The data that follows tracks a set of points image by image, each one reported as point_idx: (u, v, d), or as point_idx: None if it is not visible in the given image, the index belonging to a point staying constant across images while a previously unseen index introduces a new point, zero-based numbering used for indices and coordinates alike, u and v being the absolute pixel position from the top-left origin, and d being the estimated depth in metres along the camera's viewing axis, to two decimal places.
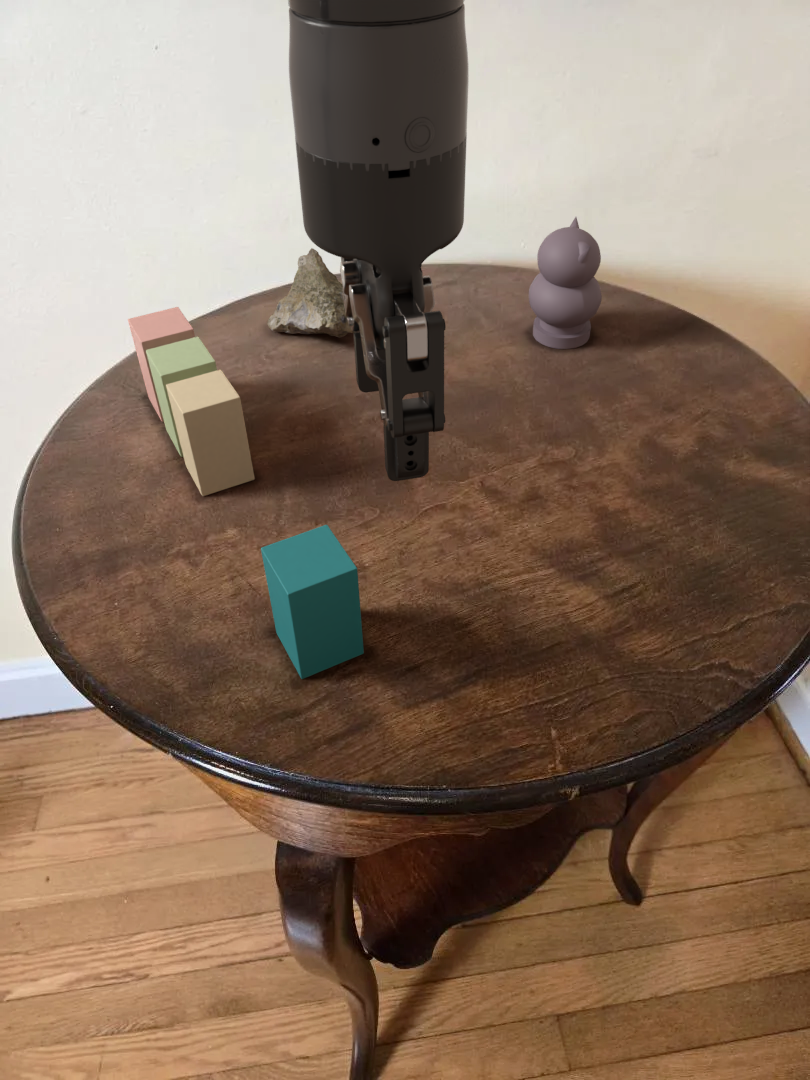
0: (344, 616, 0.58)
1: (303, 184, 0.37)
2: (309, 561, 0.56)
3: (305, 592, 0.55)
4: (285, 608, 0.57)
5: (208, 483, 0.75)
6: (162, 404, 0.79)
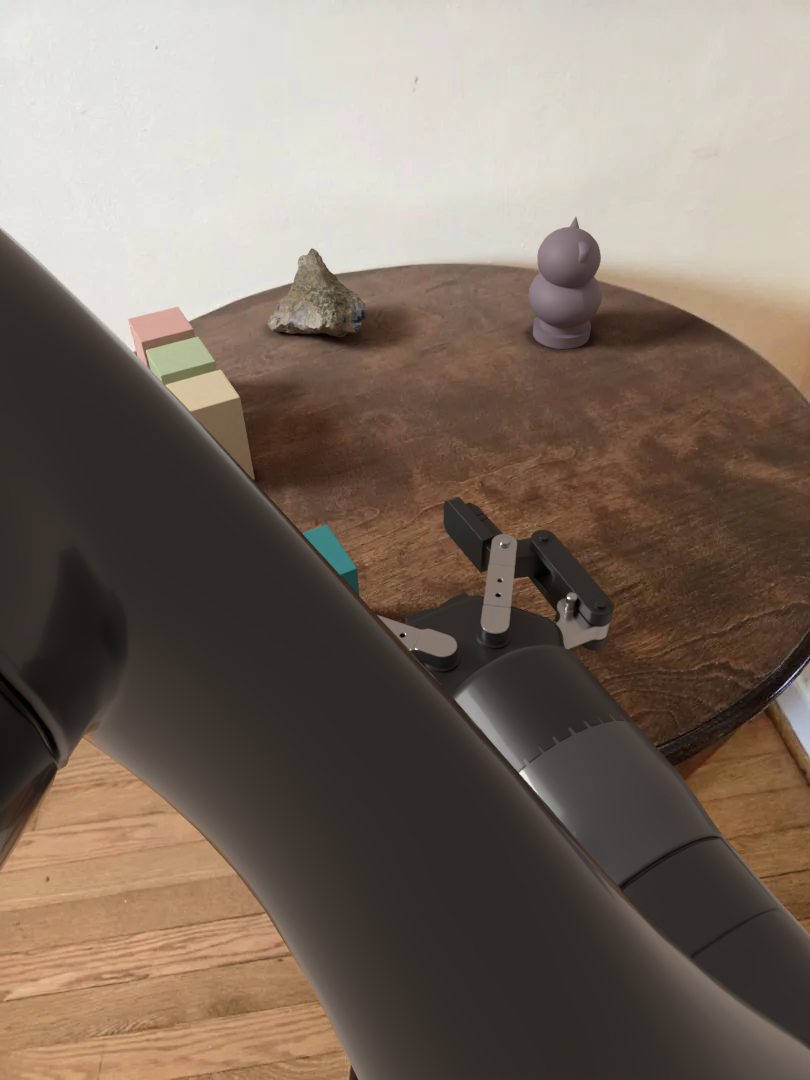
0: None
1: (529, 710, 0.30)
2: None
3: None
4: None
5: None
6: None
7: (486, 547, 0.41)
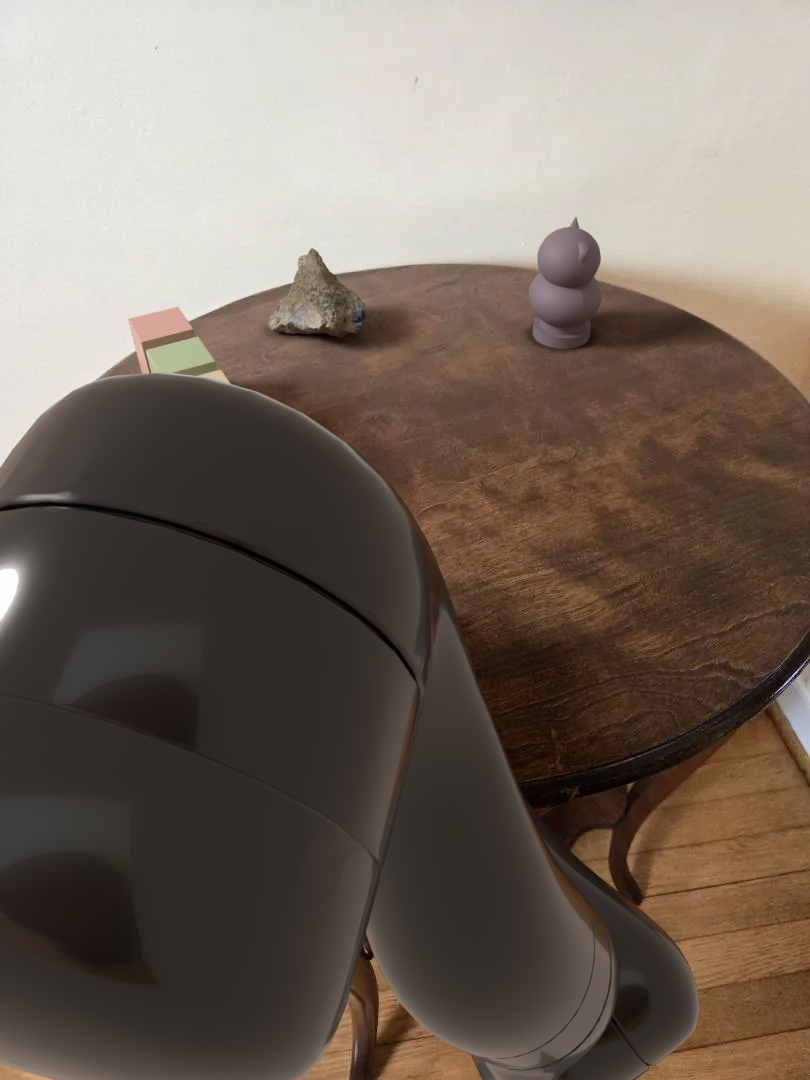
0: None
1: None
2: None
3: None
4: None
5: None
6: None
7: None
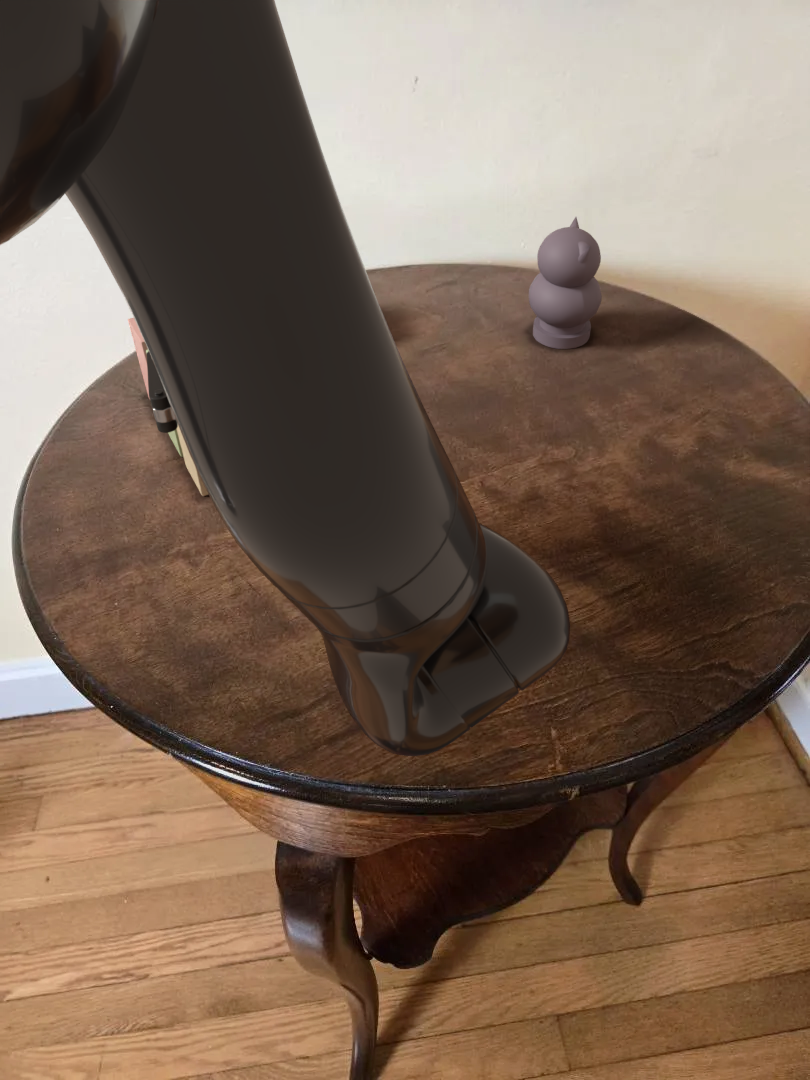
0: None
1: None
2: None
3: None
4: None
5: None
6: None
7: None
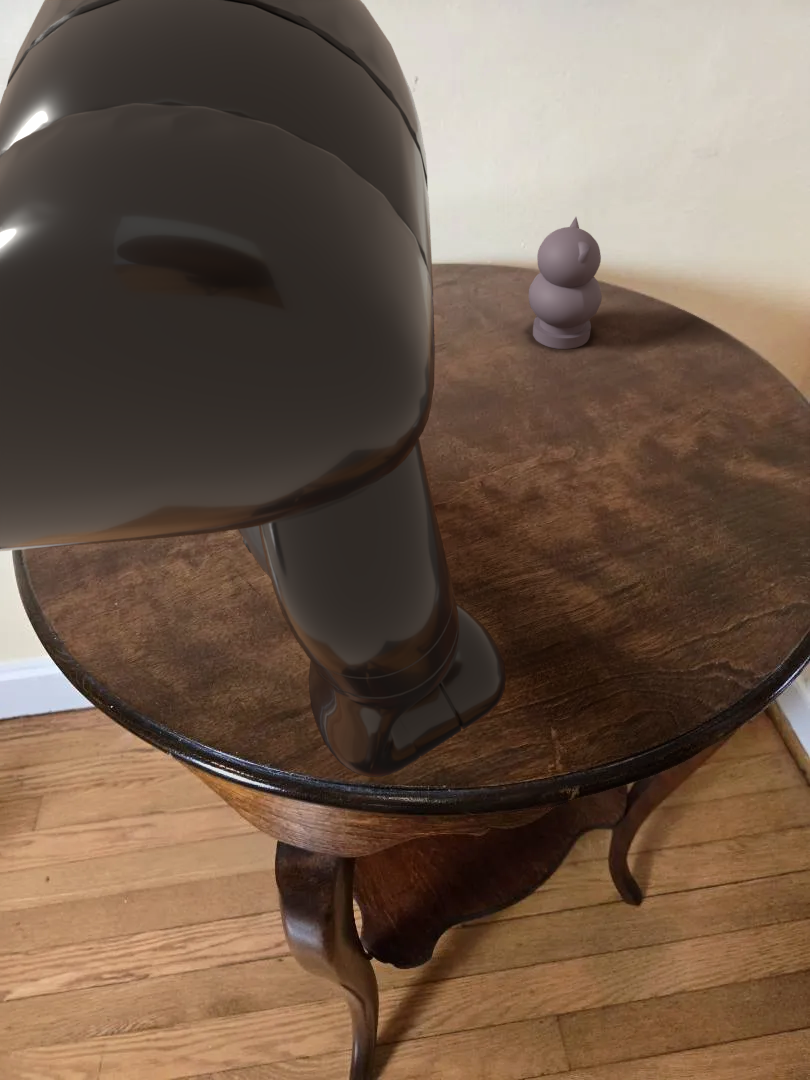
0: None
1: None
2: None
3: None
4: None
5: None
6: None
7: None
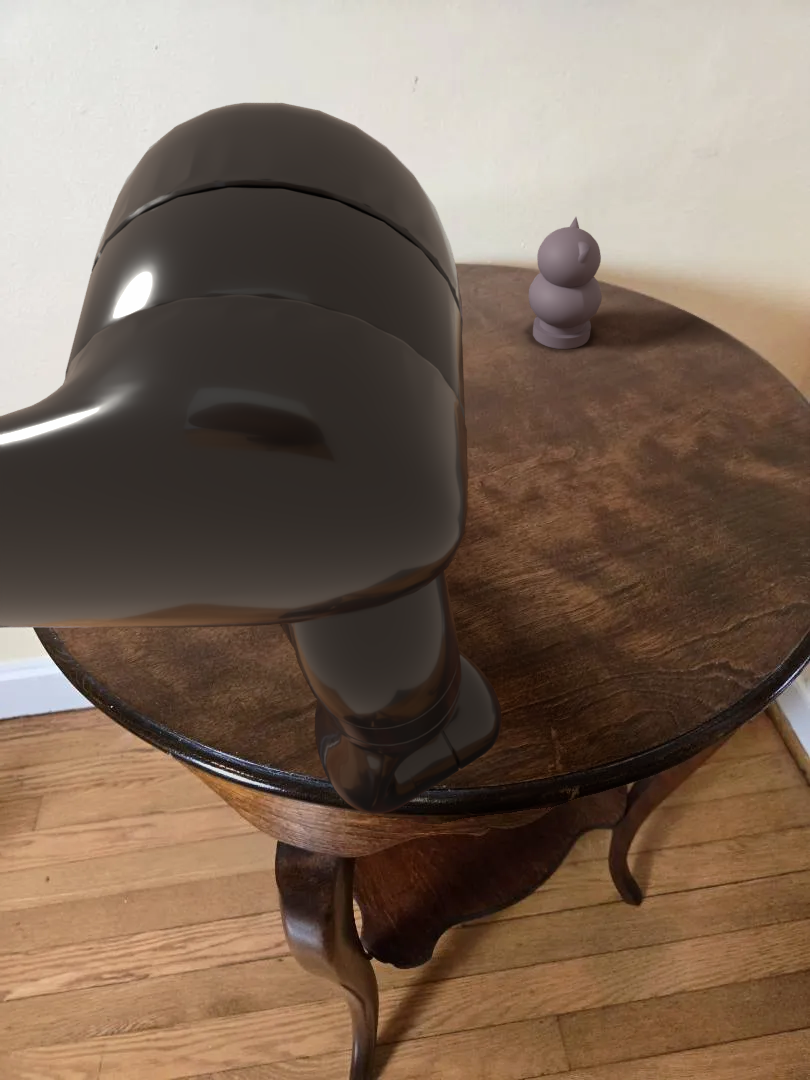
0: None
1: None
2: None
3: None
4: None
5: None
6: None
7: None
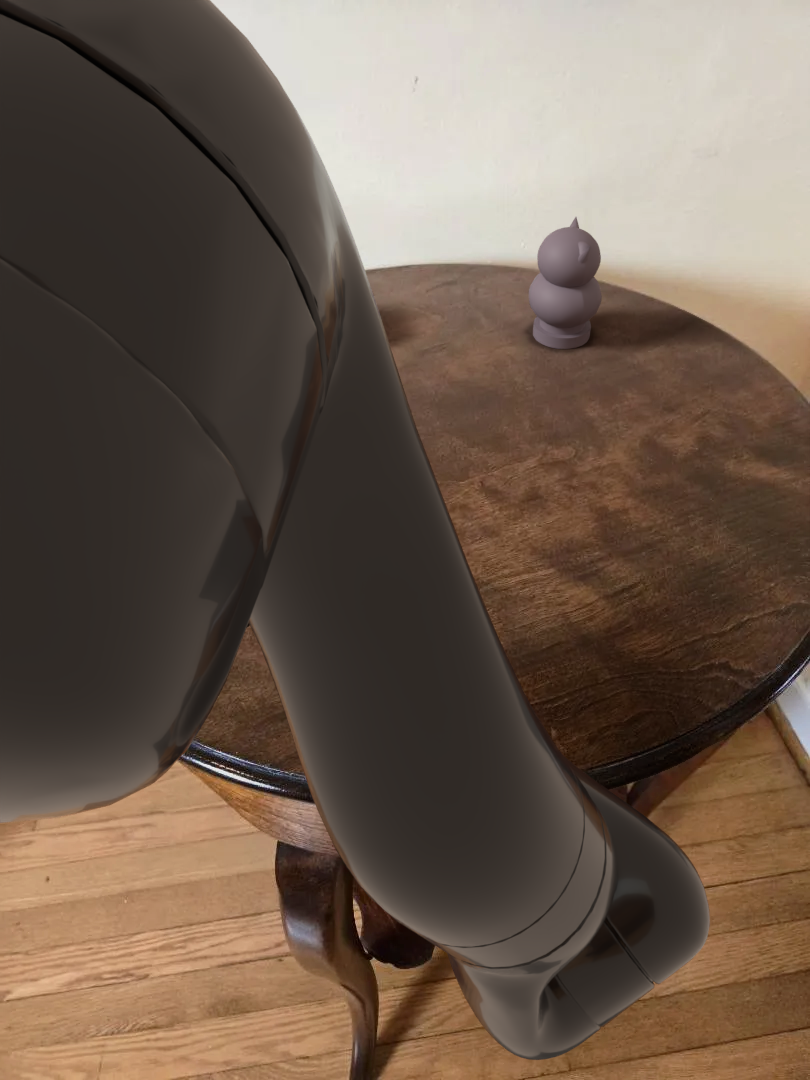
0: None
1: None
2: None
3: None
4: None
5: None
6: None
7: None
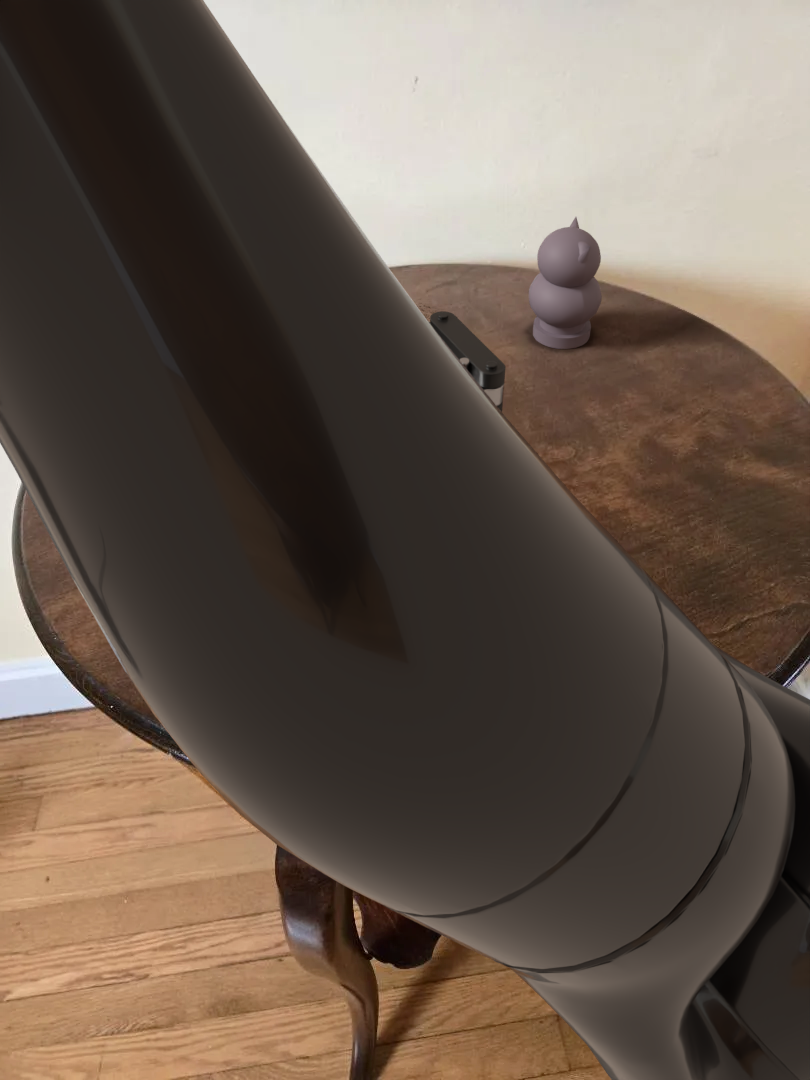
0: None
1: None
2: None
3: None
4: None
5: None
6: None
7: None
